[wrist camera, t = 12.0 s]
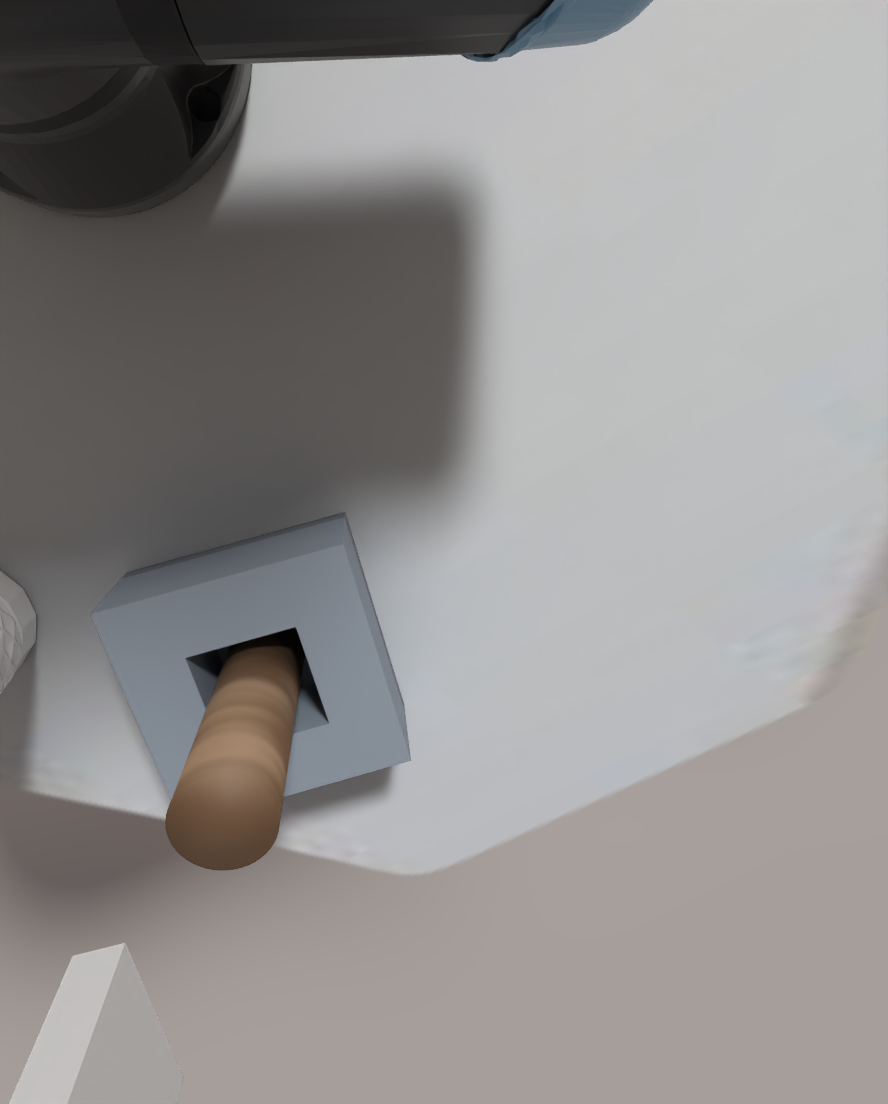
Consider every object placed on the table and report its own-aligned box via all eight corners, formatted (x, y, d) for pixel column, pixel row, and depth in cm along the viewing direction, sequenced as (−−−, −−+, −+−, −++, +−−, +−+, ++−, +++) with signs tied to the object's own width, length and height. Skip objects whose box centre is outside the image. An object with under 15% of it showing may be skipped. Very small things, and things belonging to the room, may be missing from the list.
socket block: (126, 572, 41) (89, 614, 35) (344, 512, 41) (343, 544, 36) (204, 760, 45) (182, 826, 39) (403, 703, 45) (410, 760, 39)
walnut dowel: (219, 629, 41) (148, 794, 27) (291, 608, 41) (257, 762, 27) (245, 693, 43) (189, 883, 28) (314, 672, 43) (293, 851, 28)
